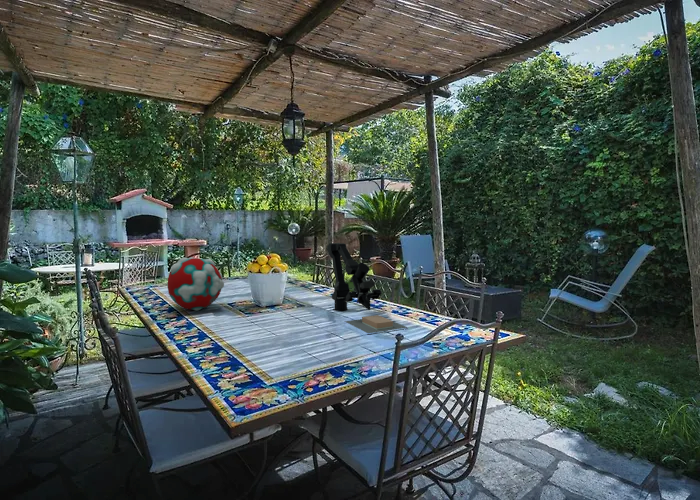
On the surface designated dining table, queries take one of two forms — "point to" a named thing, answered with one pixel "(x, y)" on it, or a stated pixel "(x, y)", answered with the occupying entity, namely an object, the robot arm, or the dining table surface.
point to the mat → (369, 329)
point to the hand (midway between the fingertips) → (369, 309)
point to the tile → (377, 322)
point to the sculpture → (194, 283)
